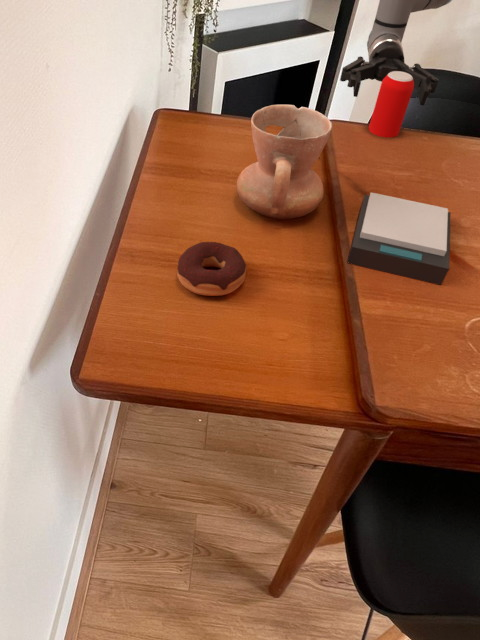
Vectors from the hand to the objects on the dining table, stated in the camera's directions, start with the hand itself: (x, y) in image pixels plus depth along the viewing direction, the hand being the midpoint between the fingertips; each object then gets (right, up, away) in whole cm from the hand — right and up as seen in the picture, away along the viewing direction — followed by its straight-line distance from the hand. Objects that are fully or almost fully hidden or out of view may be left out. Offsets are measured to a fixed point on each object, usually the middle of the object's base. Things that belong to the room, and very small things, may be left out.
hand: (390, 94), depth 108 cm
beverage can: (-1, -8, +2) cm, 9 cm away
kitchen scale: (-7, -37, -23) cm, 44 cm away
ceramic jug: (-26, -29, -18) cm, 42 cm away
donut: (-37, -43, -31) cm, 65 cm away
